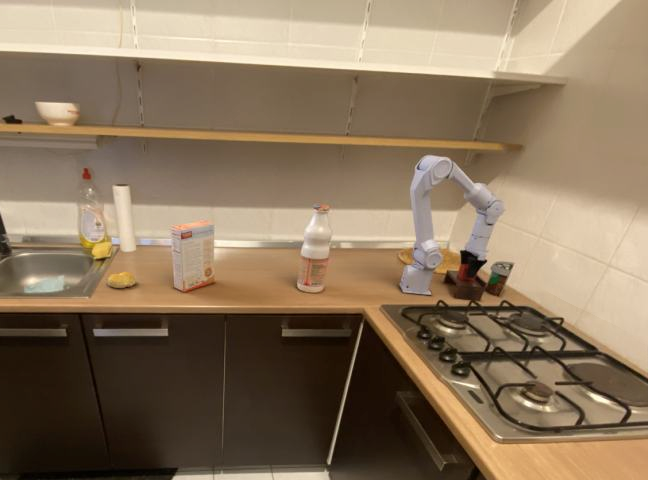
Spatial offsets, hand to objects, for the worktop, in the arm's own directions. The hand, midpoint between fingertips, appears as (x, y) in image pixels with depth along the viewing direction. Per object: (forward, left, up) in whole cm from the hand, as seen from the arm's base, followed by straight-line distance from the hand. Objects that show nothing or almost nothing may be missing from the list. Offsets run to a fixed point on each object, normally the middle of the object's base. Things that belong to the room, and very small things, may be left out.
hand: (466, 274), depth 136 cm
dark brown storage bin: (0, 0, -6) cm, 6 cm away
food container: (+12, +4, -7) cm, 14 cm away
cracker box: (-94, -22, -7) cm, 97 cm away
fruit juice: (-54, -13, -7) cm, 56 cm away
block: (0, 0, -1) cm, 1 cm away
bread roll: (-118, -28, -7) cm, 121 cm away
